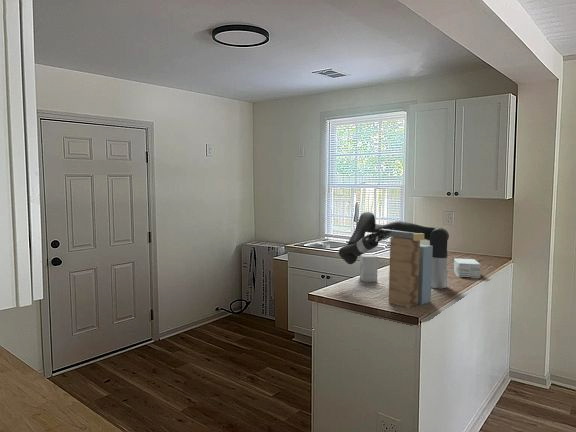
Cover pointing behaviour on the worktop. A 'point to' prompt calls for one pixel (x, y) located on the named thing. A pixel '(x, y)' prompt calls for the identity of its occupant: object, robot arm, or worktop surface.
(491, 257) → the worktop surface
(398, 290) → the brown wooden tall block
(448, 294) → the worktop surface
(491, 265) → the worktop surface
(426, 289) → the light blue tall block
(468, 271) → the supplement box
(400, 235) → the grey and tan bar
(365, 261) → the supplement box
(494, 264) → the worktop surface
